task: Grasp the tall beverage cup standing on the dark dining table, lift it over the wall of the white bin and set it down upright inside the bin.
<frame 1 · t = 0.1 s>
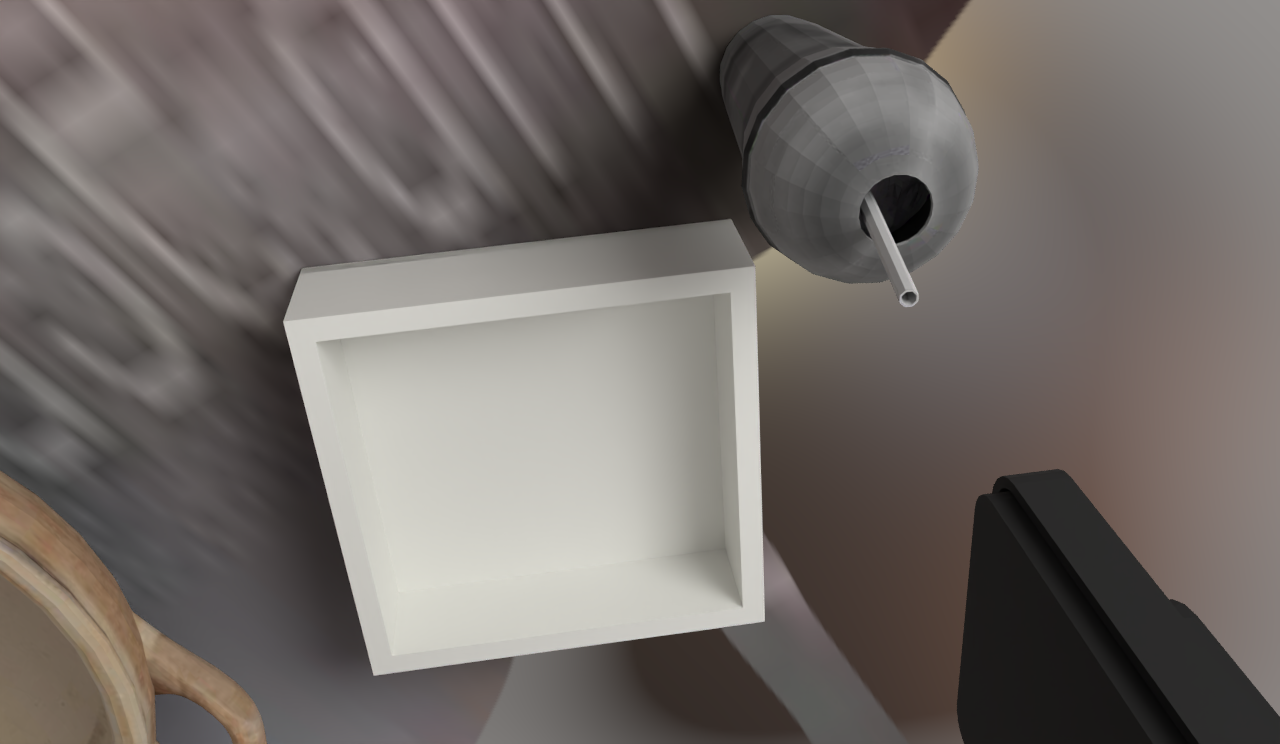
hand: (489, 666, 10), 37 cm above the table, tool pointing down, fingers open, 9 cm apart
white bin: (544, 425, 52), on the table
beverage cup: (774, 71, 46), on the table
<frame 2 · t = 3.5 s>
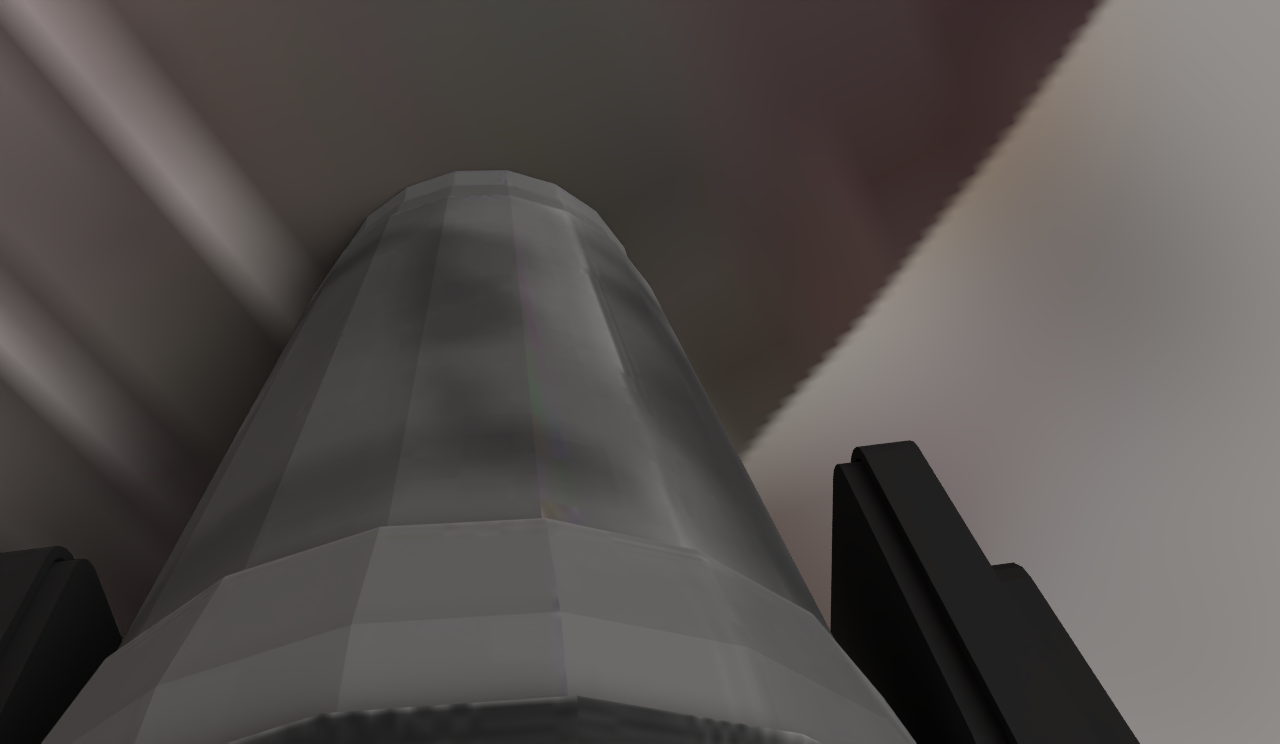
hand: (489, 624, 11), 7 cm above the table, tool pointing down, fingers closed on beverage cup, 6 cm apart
beverage cup: (488, 310, 17), on the table, touching gripper
when the fingers open (9 cm above the table, at t = 11.3 s): beverage cup drops 2 cm, resting on white bin.
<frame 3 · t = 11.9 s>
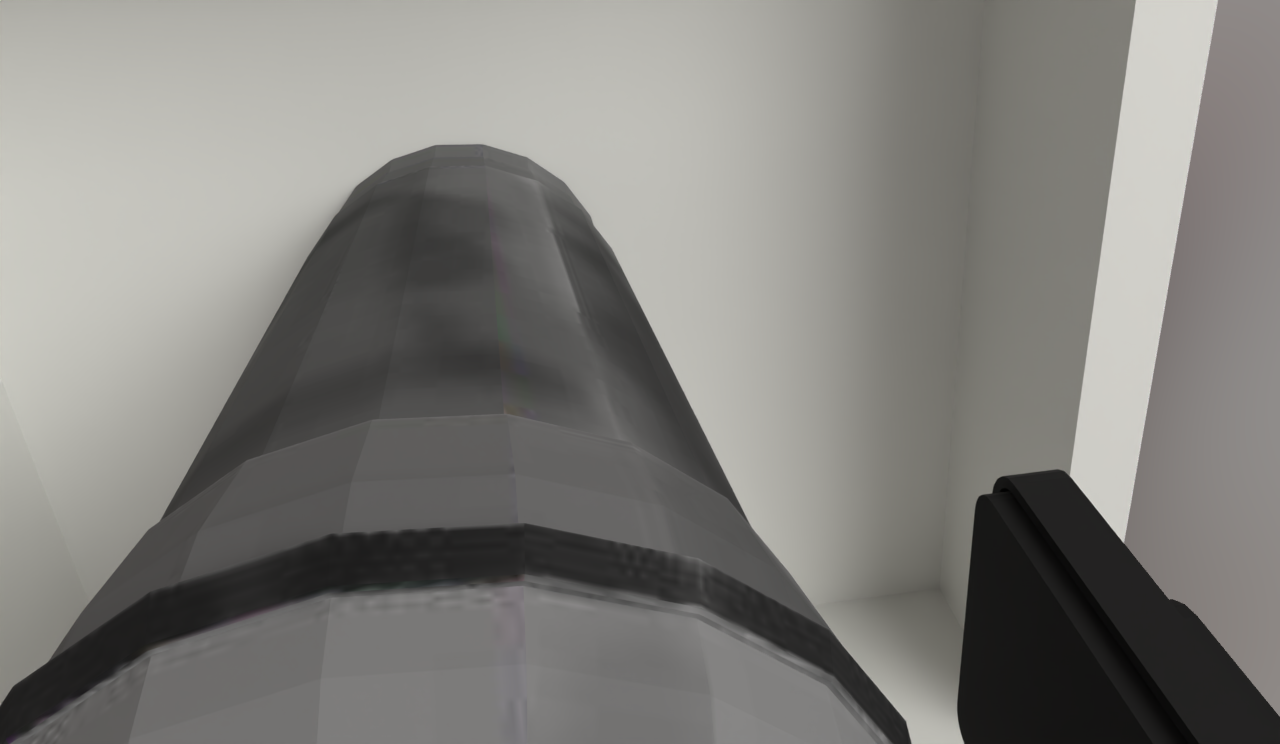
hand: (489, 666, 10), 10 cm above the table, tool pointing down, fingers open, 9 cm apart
white bin: (488, 253, 19), on the table
beverage cup: (466, 273, 19), resting on white bin
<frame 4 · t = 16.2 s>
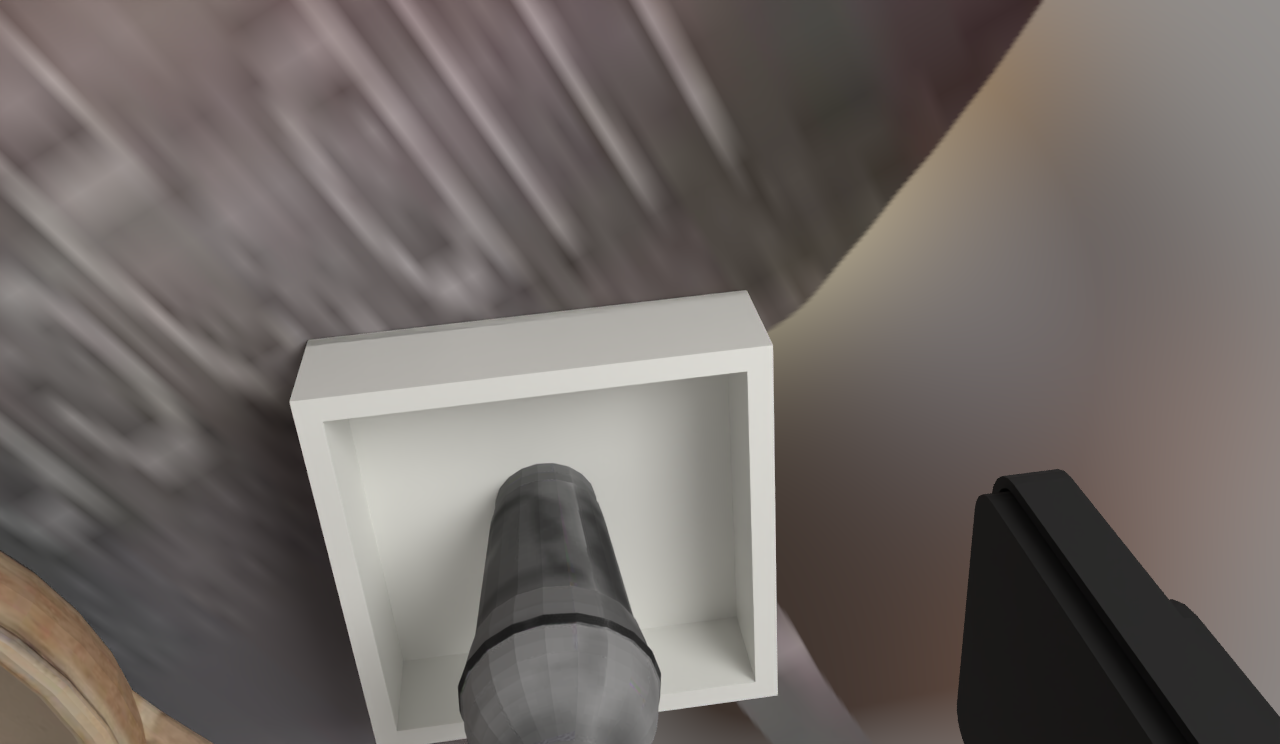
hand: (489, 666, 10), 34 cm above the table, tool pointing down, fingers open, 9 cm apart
white bin: (553, 494, 51), on the table
beverage cup: (545, 503, 51), resting on white bin
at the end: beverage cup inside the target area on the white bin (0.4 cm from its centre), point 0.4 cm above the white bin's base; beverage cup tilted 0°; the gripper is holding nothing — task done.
